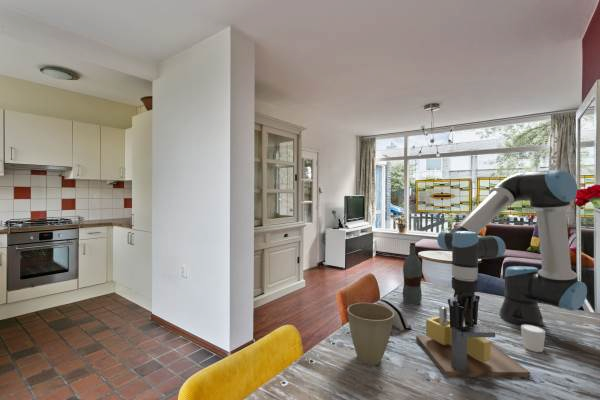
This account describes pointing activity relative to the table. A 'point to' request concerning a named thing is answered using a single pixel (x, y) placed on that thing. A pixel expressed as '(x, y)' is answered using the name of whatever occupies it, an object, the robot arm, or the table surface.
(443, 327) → the link
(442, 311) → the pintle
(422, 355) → the table surface
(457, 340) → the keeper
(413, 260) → the bottle
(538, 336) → the white cylinder
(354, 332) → the plant pot
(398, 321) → the white d-shaped block
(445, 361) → the board
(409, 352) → the table surface
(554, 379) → the table surface
